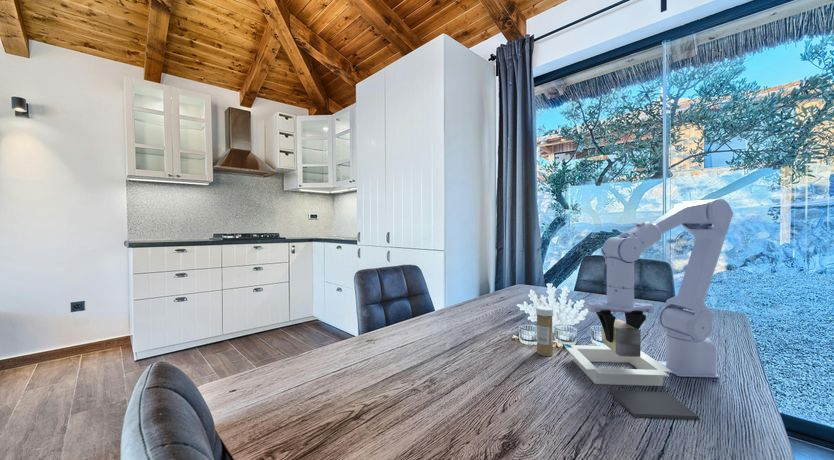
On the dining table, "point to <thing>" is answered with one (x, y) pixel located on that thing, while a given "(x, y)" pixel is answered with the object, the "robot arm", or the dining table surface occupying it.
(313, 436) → the dining table surface
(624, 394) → the rubber mat
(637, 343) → the birch block
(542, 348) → the sprinkles bottle
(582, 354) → the white flat frame
